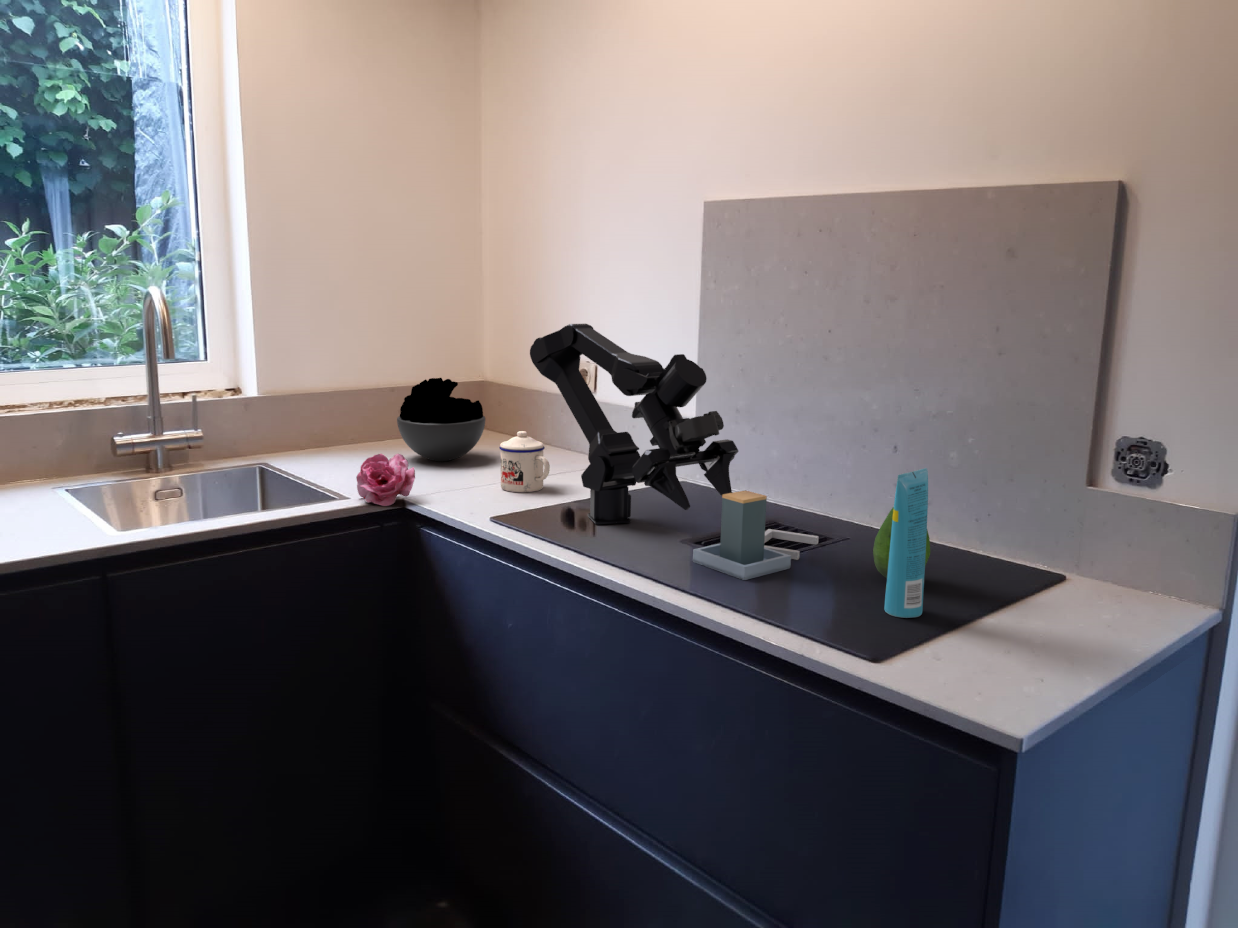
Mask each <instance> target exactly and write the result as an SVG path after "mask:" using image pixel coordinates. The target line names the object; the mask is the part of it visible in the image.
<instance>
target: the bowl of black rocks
mask: <svg viewBox="0 0 1238 928" xmlns="http://www.w3.org/2000/svg"><path fill="white" fill-rule="evenodd" d="M458 384H459V383H458V382H457V381H452V379H450V378H446V379H444V380H443V378H442V377H439V378H438V377H433V378H429V379H426V378H425V379H424V380H423V381H420V382H419V383H417V384H415V385H414V386H411V391H410V394H409V395H407V396H405V397H404V398H403V402H402V404H401V406H400V409H399V411H400V413H399V416H397V417H396V423H397V428H398V431H399V434H400V436H401V438H402V440H403V441H404V443H405V444H406V445H407V447H408V448H409V449H411V451H413V452H414V453H415V454H417V455H418V456H420V457H422V458H424V459H428V460H430V461H438V462H447V461H451V460H456V459H458V458H461V457H462V456H465V455H466V454H467V453H469V452H470V451H471V450H472V449H473V448H474V447H475V446H477V444H478V442H479V441H480V439H481V437H482V435H483V433H484V430H485V425H486V416H484V412H483V411H484V409H483V405H482V403H481V402H480V400H475V401H472V400H471V399H469V398H463V397H457V398H456V397H453V396H451V395H452V392H453V391H454V389H455V388H456V387H458Z"/></svg>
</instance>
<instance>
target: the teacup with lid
mask: <svg viewBox="0 0 1238 928" xmlns="http://www.w3.org/2000/svg"><path fill="white" fill-rule="evenodd" d="M516 435H517V436H513V437H511V438H510V439H508V440H506V441H502V442H501V443H500V444H499V445H500V446H499V450H500V488H501V489H502V490H504V491H507V492H512V493H532V492H538V491H541V490H542V489H543V488H544V480H546V479H547V477H548V476H549V474H550V471H551V469H550V468H551V466H550V462H549V460H548V459H547V458H546V457H545V456H544V450H545V445H544V443H543V442H541V441H538V440H536V439H535V438H532V437H531V436H528V432H527V431H525V430H524V431H523V430H521V431H517V433H516Z"/></svg>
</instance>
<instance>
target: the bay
mask: <svg viewBox="0 0 1238 928" xmlns="http://www.w3.org/2000/svg"><path fill="white" fill-rule="evenodd" d="M771 539H778V540H784V541H790V542H796V543H802V544H803V543H804V544H809V545H818V544H819V535H812V534H805V533H798V532H793V531H786V530H778V529H773V528H772V529H771V528H768V529H765V539H764V547H765V548H769V549H772V550H775V551H778V552H781V553H784V554H787V555H791V560H793V561H798V560H799V559H800V552H801V551H800V550H795V549H789V548H783V547H776V546H771V545H765V543H767V542H769V540H771Z"/></svg>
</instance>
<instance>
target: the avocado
mask: <svg viewBox="0 0 1238 928" xmlns="http://www.w3.org/2000/svg"><path fill="white" fill-rule="evenodd" d="M893 509H894V506H892V507H891V509H890V510H889V512H888V513H887V515H886V517H885V519H884V520H883V522H882V524H881V525H880V527H879V529H878V532H877V534H876V536H875V538H874V544H873V548H872V555H873V561H874V562H873V563H874V566H875V567H876V570H877V572H878V573H879V574H881V575H882V576H883V577H884V578H886V579H887V573H888V563H889V552H890V541H891V530H892V519H893ZM928 531H929V530H928V529H927V535H926V555H925V567H926V566H927V565H928V564H927V563H928V561H929V558H930V555H931V542H930V540H931V539H930V535H929V532H928Z"/></svg>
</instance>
